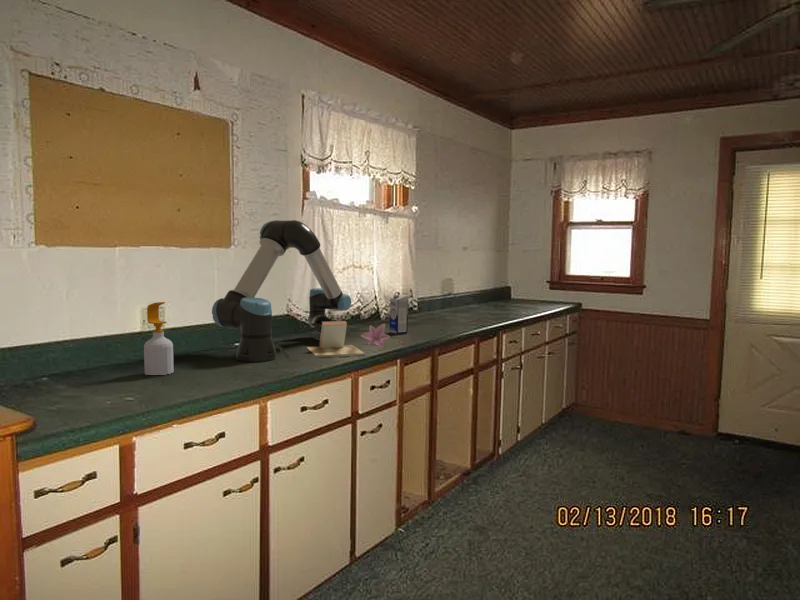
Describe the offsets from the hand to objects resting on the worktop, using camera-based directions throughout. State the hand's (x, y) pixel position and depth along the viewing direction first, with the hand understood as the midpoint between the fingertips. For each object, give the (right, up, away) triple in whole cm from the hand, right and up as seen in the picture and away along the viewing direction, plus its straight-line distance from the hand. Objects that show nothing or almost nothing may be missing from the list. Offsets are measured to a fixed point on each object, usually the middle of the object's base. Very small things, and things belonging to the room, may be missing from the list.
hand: (333, 330), depth 238 cm
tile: (-1, -6, +1) cm, 7 cm away
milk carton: (+27, -4, +51) cm, 58 cm away
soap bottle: (-54, -12, -47) cm, 72 cm away
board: (+1, -9, -5) cm, 10 cm away
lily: (+17, -8, +12) cm, 22 cm away
